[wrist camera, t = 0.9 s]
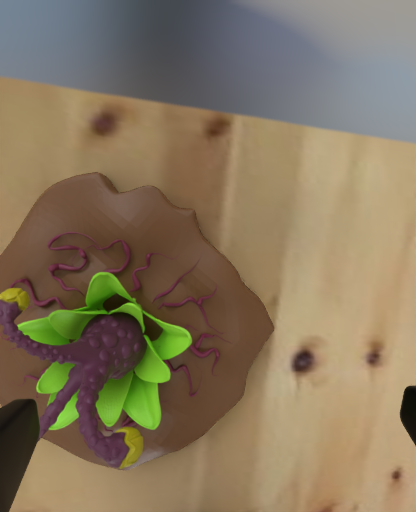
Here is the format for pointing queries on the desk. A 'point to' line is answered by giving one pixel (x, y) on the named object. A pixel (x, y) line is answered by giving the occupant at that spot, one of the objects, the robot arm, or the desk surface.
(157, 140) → the desk surface
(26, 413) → the robot arm
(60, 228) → the plant
